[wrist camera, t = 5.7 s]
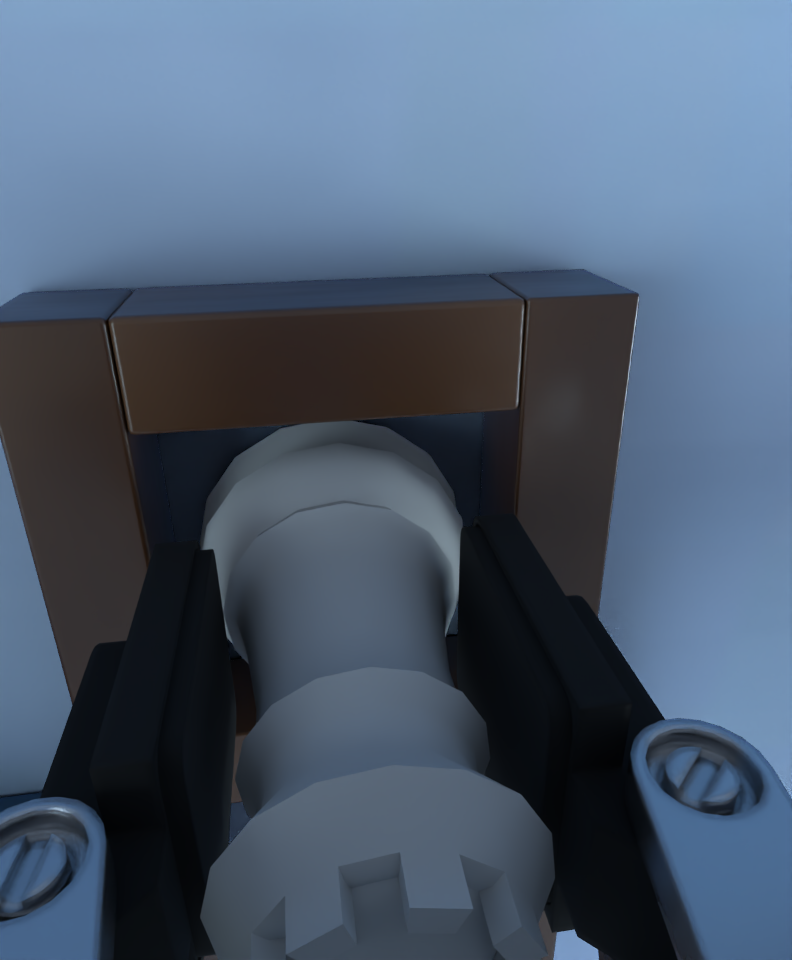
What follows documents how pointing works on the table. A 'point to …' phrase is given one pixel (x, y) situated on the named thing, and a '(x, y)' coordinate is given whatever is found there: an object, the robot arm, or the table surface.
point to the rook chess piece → (359, 718)
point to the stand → (303, 414)
